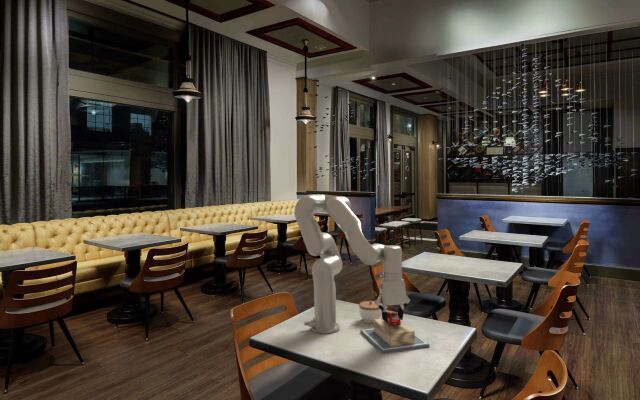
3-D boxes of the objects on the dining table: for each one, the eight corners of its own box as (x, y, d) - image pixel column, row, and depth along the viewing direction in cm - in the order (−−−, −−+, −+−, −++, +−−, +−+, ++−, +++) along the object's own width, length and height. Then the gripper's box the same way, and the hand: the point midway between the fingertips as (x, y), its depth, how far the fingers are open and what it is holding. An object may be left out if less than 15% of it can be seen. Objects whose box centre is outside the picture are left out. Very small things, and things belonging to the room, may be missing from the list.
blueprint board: (382, 353, 144) (382, 337, 144) (360, 332, 165) (360, 318, 165) (429, 346, 149) (429, 331, 149) (402, 327, 170) (402, 313, 170)
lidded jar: (357, 324, 175) (357, 303, 175) (360, 316, 186) (360, 297, 185) (381, 325, 173) (381, 305, 173) (383, 317, 183) (383, 298, 183)
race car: (383, 316, 164) (383, 306, 164) (396, 316, 164) (396, 307, 164) (387, 327, 151) (387, 317, 151) (401, 327, 151) (401, 317, 150)
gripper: (376, 279, 150) (376, 325, 151) (416, 276, 155) (416, 320, 156) (369, 275, 158) (369, 318, 158) (407, 272, 162) (407, 314, 163)
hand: (392, 319), depth 157 cm, fingers closed on race car, 6 cm apart
